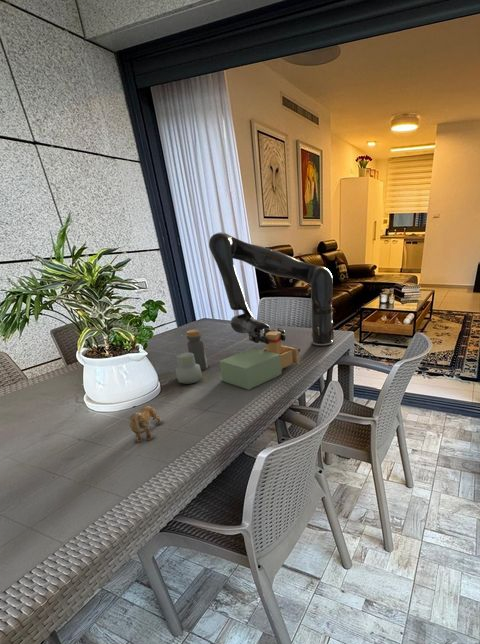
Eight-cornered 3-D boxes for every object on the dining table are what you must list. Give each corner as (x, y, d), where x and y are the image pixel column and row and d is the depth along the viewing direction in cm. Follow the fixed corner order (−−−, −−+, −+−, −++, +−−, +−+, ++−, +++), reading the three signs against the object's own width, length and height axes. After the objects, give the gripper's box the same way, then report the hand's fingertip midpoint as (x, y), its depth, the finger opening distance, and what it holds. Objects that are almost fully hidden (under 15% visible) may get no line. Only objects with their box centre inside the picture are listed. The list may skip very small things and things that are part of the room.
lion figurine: (155, 446, 91) (145, 416, 87) (132, 449, 90) (122, 419, 86) (163, 419, 104) (155, 391, 99) (143, 422, 102) (135, 394, 98)
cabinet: (256, 366, 140) (254, 348, 136) (281, 374, 132) (280, 354, 128) (222, 381, 128) (219, 360, 124) (248, 389, 120) (245, 368, 117)
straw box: (271, 351, 138) (269, 331, 135) (282, 351, 137) (280, 331, 133) (267, 354, 135) (264, 334, 131) (277, 355, 133) (275, 335, 130)
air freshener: (203, 384, 126) (198, 357, 121) (179, 388, 123) (173, 361, 118) (200, 373, 135) (195, 348, 130) (178, 377, 132) (171, 352, 127)
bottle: (210, 365, 142) (203, 329, 135) (204, 371, 137) (197, 333, 130) (196, 365, 143) (188, 329, 136) (190, 370, 138) (181, 333, 131)
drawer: (283, 354, 149) (282, 340, 147) (306, 359, 142) (305, 345, 140) (247, 368, 135) (245, 354, 133) (271, 375, 129) (269, 360, 126)
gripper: (240, 323, 139) (257, 333, 126) (272, 318, 145) (292, 326, 133) (242, 342, 142) (259, 353, 130) (274, 336, 149) (293, 345, 136)
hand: (276, 339), depth 131 cm, fingers closed on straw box, 6 cm apart
